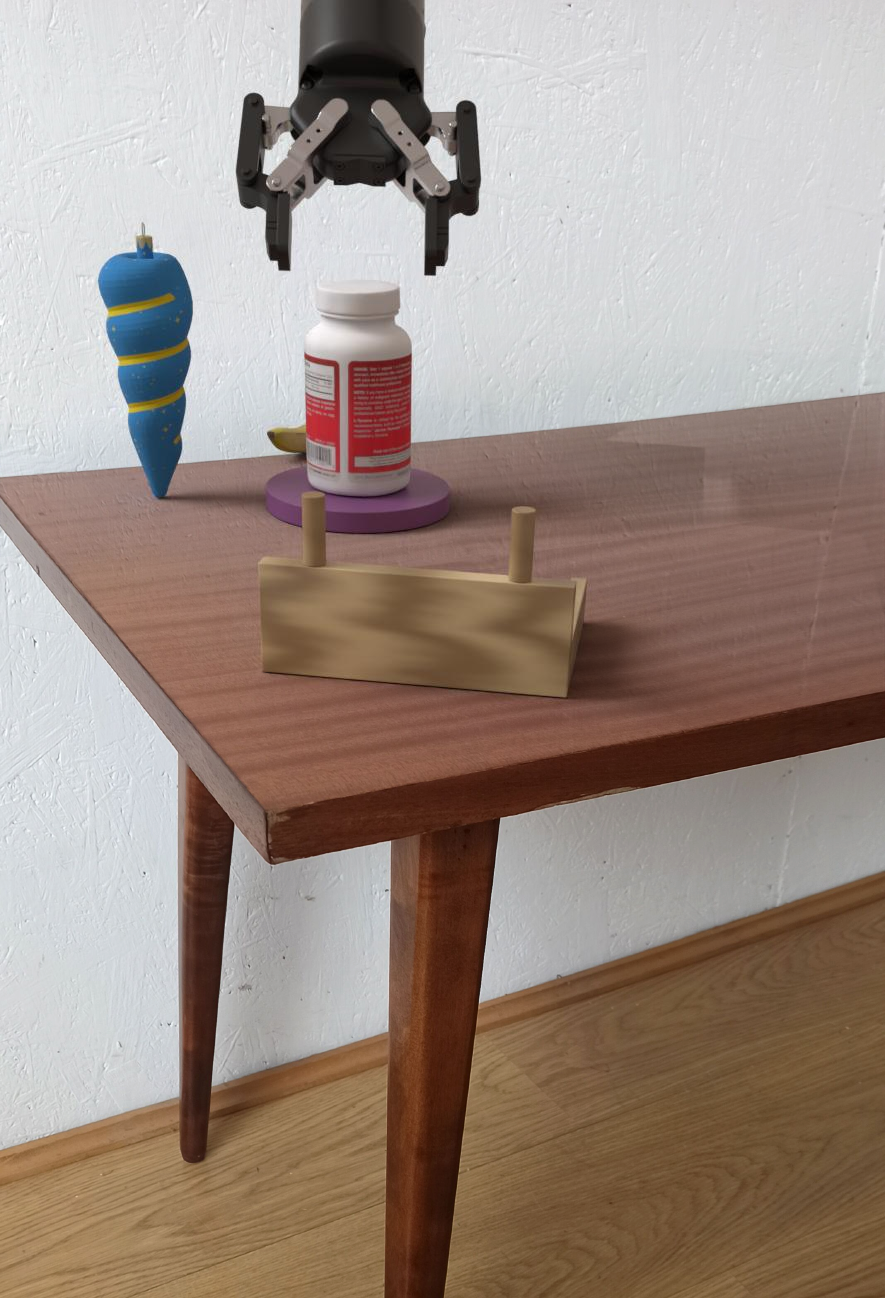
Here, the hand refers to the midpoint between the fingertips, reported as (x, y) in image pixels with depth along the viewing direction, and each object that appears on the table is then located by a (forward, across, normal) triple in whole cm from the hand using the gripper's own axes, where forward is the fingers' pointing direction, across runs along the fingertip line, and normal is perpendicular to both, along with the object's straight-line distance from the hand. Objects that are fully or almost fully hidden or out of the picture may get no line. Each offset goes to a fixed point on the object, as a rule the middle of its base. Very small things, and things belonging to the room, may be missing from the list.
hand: (357, 264), depth 89 cm
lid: (+12, 0, +6) cm, 13 cm away
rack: (+28, +4, -10) cm, 31 cm away
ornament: (+12, -12, +7) cm, 18 cm away
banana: (+3, -4, +15) cm, 16 cm away
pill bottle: (+11, 0, +5) cm, 12 cm away
